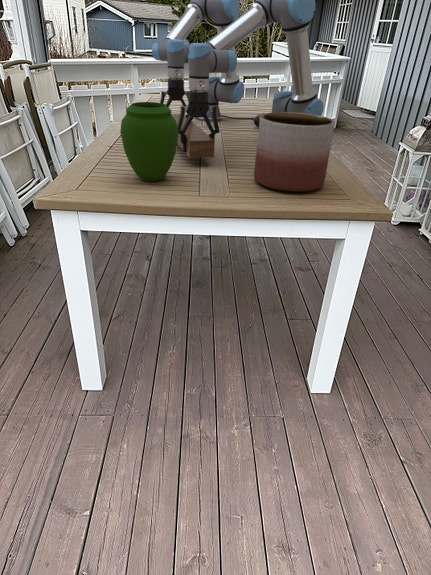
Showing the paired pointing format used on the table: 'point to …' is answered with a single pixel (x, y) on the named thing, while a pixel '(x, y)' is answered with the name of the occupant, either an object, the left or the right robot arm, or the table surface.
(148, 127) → the vase
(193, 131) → the narrow beam
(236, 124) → the table surface
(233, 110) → the table surface
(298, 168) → the planter
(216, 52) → the right robot arm
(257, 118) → the seashell
